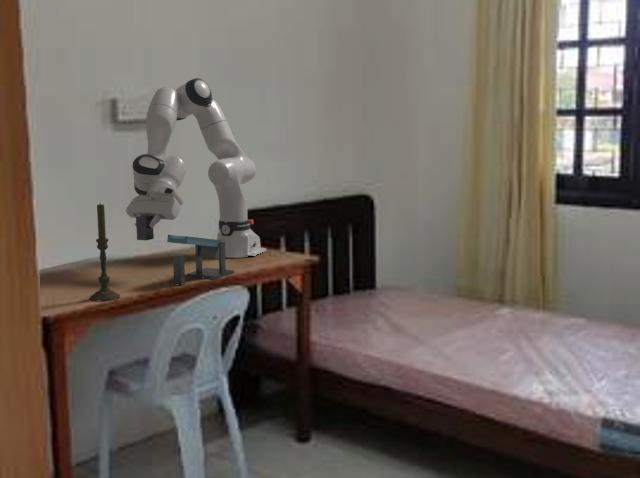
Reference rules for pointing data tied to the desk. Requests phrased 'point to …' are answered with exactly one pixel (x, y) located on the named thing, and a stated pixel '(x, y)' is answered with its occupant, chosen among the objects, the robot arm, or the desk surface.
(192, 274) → the beam stand
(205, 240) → the beam
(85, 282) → the desk surface
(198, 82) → the robot arm
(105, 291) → the candlestick holder
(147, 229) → the block
